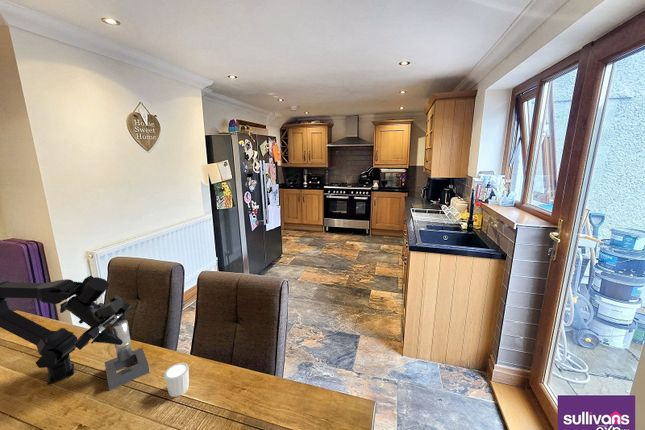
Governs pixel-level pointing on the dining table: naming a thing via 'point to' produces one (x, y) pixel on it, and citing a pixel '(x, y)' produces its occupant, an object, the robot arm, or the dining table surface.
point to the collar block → (127, 373)
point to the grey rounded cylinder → (122, 333)
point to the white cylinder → (177, 379)
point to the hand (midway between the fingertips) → (126, 339)
